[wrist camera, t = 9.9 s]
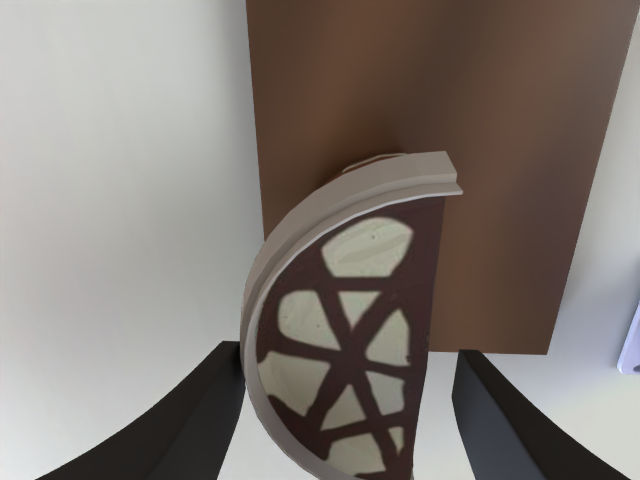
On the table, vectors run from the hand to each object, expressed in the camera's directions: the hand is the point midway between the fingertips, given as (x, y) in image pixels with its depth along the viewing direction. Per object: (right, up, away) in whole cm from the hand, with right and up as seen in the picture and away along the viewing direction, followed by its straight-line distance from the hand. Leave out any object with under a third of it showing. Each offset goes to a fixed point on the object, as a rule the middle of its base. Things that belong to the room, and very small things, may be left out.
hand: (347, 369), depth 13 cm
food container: (0, +4, +8) cm, 9 cm away
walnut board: (+4, +8, +7) cm, 12 cm away
